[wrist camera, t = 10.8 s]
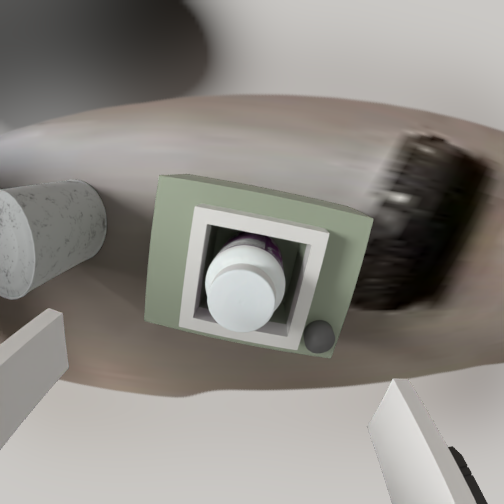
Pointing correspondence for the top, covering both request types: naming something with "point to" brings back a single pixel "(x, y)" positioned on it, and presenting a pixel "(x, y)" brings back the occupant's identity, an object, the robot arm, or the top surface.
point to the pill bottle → (245, 282)
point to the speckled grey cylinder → (47, 232)
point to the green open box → (264, 223)
